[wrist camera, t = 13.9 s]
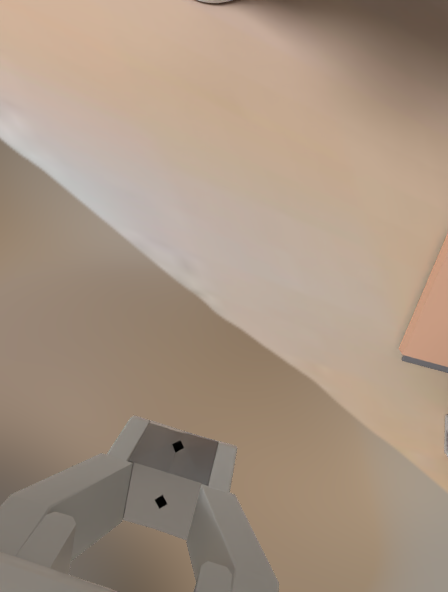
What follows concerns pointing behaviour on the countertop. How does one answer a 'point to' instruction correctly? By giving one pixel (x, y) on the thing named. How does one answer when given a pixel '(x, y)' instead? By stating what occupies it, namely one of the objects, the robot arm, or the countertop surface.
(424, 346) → the tile
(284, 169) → the countertop surface
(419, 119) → the countertop surface
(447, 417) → the coffee box
